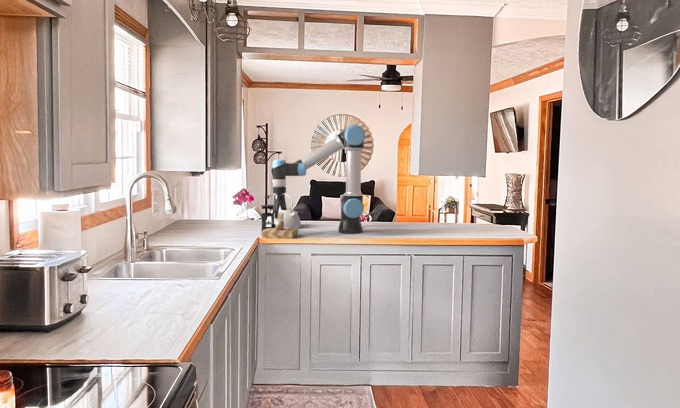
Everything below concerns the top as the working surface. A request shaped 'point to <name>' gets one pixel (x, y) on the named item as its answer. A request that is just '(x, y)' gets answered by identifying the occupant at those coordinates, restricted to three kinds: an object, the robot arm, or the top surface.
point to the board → (280, 233)
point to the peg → (280, 222)
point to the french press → (267, 216)
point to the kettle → (289, 217)
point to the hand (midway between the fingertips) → (279, 222)
